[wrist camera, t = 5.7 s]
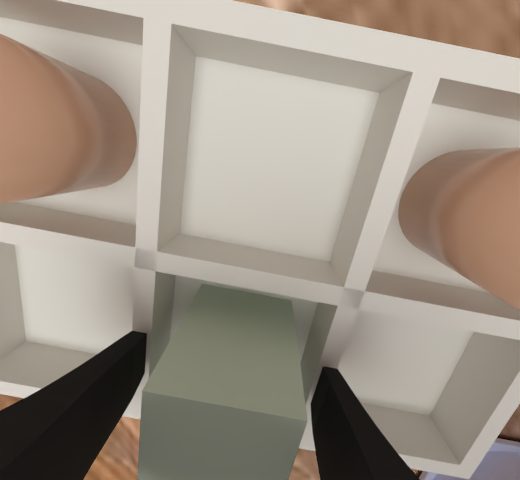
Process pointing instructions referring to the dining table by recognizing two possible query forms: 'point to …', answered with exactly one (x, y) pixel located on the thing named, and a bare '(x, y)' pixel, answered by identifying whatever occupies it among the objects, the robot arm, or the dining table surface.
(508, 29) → the dining table surface
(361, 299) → the white compartment tray
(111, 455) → the dining table surface
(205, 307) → the pale green block
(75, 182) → the tan rounded capsule part
